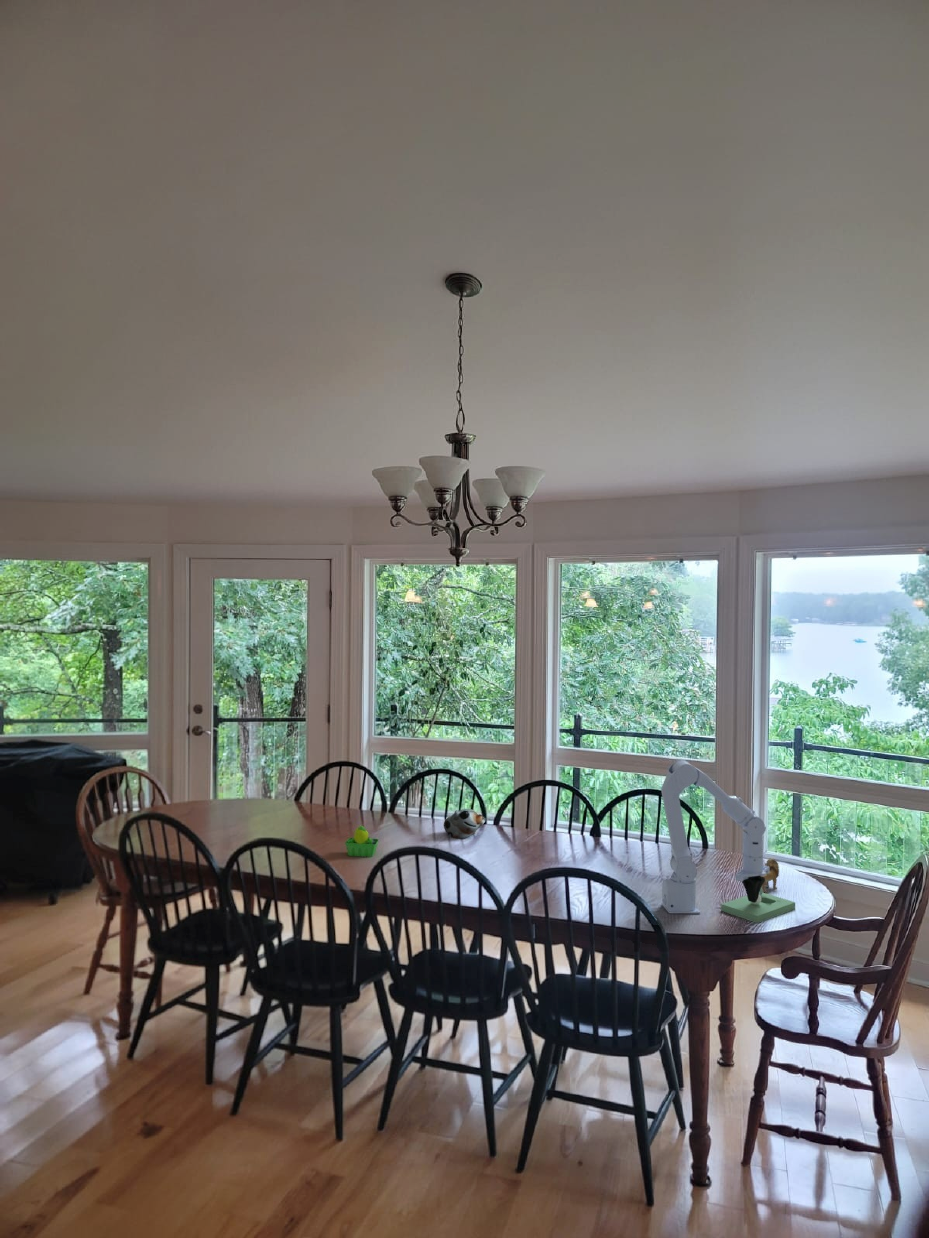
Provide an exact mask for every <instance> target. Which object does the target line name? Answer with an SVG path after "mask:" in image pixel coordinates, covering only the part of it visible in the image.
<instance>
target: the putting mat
mask: <svg viewBox="0 0 929 1238" xmlns="http://www.w3.org/2000/svg"><path fill="white" fill-rule="evenodd" d="M765 876H767V873H766V875H765ZM765 876H761V877H765ZM759 895H760V896H761V903H760V904H758V905H754V904H752V903H751V902H750V901H748V897H747V895H745V896H744V895H743V896H742V897H741V896H740V897H738V898H735V899H732V900H729V901H726V902H723V903H721V905H720V910H721V912H724V913H727V914H730V915H733V916H736V917H739V918H742V919H745V920H746V921H747V920H748V921H751V922H753V923H757V924H758V923H761V922H764V921H766V920H769V919H772V918H775V917H777V916H781V915H783V914H785V913H788V912H791V911H794V910H796V902H795V901H792V900H789V899H785V898H782V897H779V896H777V895H776V896H775V895H772V894H769V893H764V892H763V890H762V887H761V889H760V892H759Z"/></svg>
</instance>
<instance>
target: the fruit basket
mask: <svg viewBox="0 0 929 1238" xmlns="http://www.w3.org/2000/svg"><path fill="white" fill-rule="evenodd" d="M344 842H345V846H346V847H345V848H346V851H347V856H348V857H363V856H364V857H365V858H366V856H367V857H368V858H373V856H374V855H375V854H374V853H376V851H377V848H378V843H379V838H371V837H369V832H368V831H367V829H366V828H365V827H364V826H363V825H359V826H358V827H357V828H356V829H355V831H354V834H353V837H349V838H348V839H346V841H344Z"/></svg>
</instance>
